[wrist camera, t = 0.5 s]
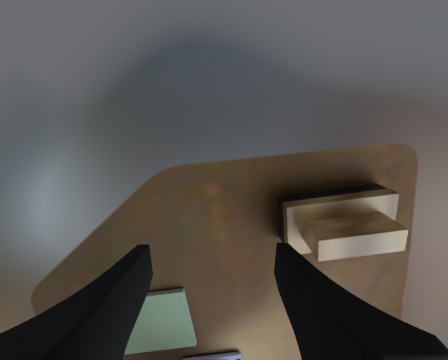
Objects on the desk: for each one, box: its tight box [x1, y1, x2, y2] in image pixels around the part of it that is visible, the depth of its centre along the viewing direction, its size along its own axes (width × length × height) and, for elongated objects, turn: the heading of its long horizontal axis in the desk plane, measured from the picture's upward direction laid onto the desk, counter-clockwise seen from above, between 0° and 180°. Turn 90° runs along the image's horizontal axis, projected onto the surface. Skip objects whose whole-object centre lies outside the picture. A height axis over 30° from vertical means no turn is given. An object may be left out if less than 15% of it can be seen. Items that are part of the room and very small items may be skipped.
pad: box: [124, 288, 197, 355], centre depth 26 cm, size 9×13×1 cm
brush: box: [279, 184, 408, 261], centre depth 20 cm, size 10×5×6 cm, turn 97°
